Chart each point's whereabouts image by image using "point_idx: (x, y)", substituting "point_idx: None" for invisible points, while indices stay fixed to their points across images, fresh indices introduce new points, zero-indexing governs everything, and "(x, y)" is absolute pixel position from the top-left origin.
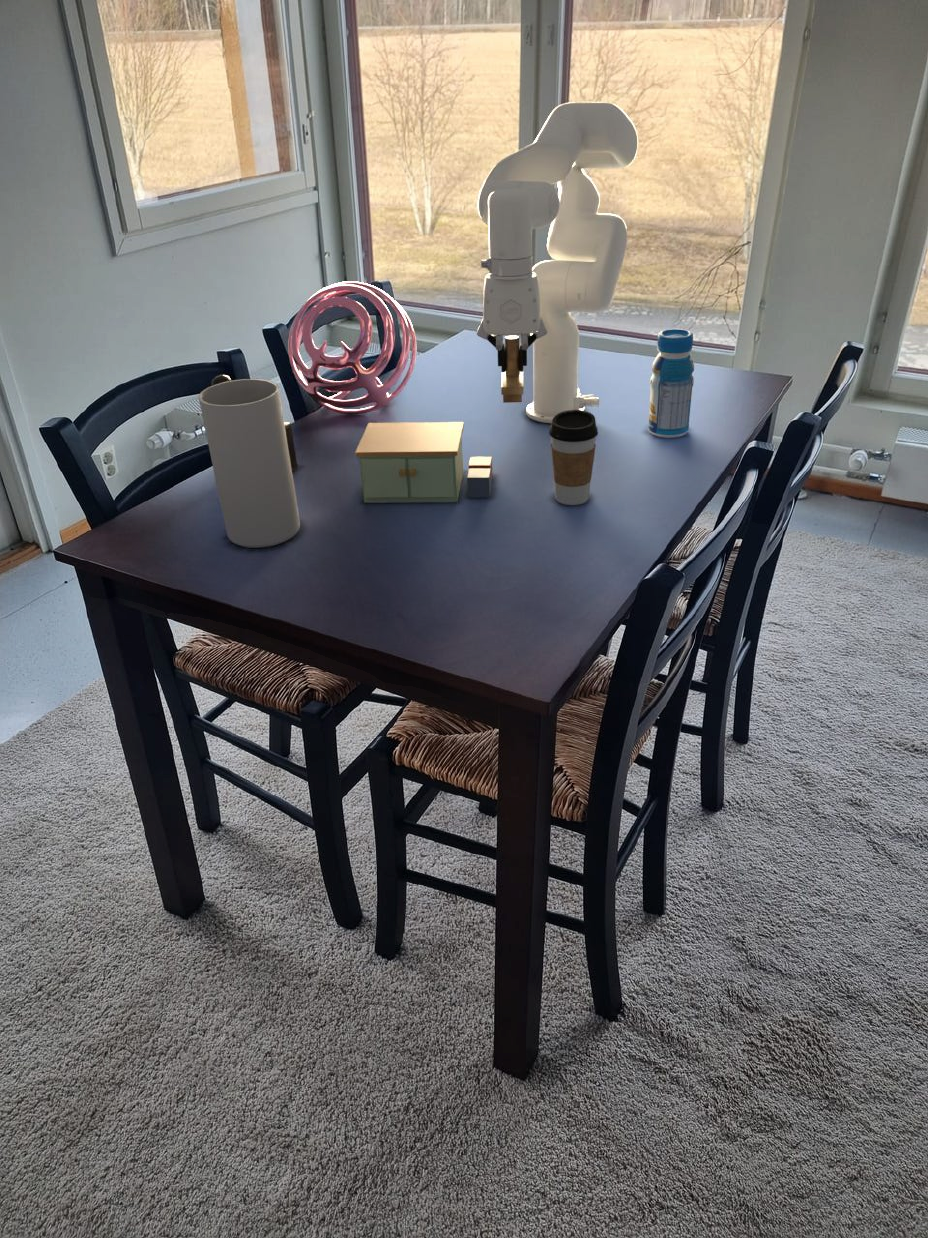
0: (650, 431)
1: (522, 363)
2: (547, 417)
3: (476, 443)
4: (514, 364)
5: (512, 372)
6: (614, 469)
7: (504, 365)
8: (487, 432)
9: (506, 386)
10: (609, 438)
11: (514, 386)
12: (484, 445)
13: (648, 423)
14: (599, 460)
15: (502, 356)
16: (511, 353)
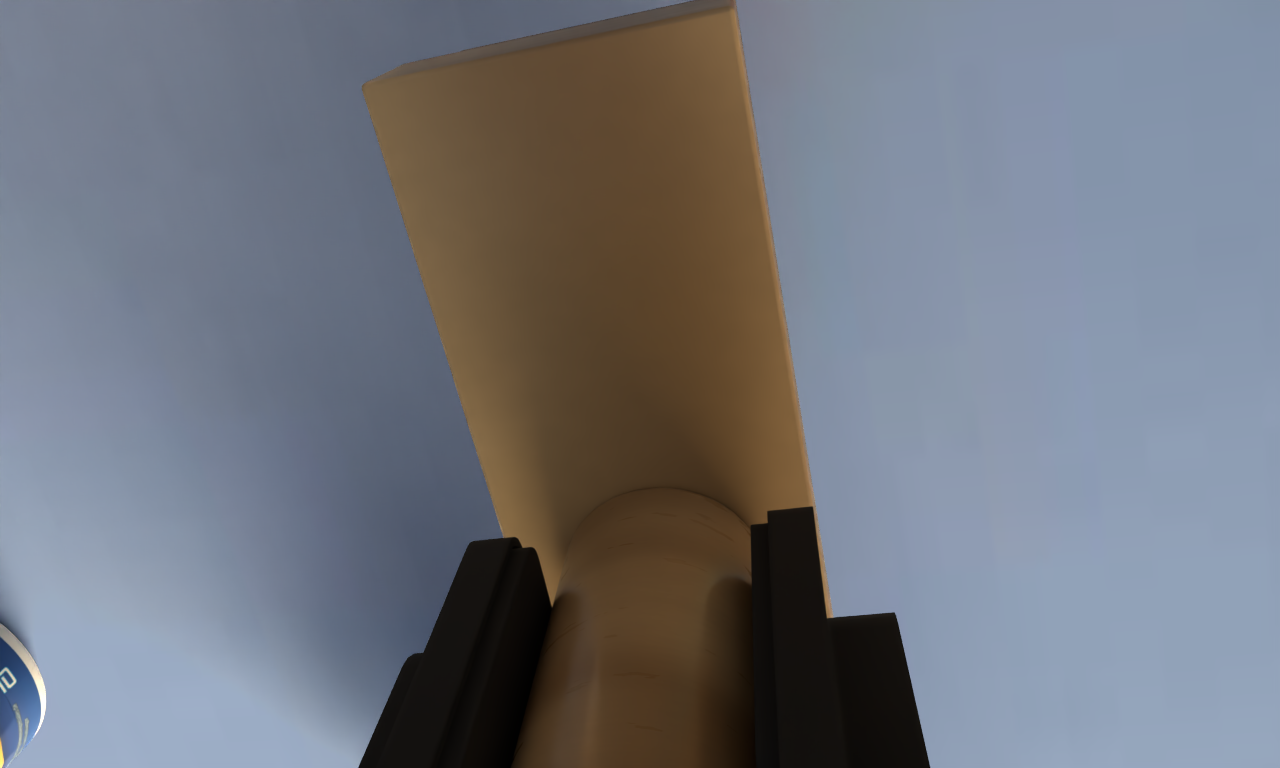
0: (6, 637)
1: (443, 619)
2: None
3: (1004, 428)
4: (592, 612)
5: (640, 526)
6: (12, 129)
7: (766, 578)
8: (948, 591)
9: (644, 40)
10: (207, 564)
11: (507, 66)
12: (944, 403)
13: (17, 694)
14: (152, 257)
15: (809, 685)
16: (619, 759)
